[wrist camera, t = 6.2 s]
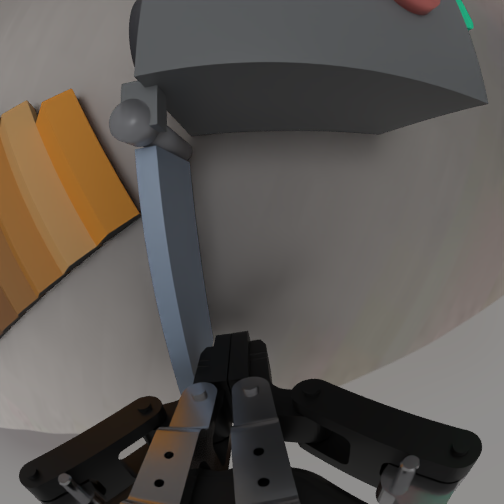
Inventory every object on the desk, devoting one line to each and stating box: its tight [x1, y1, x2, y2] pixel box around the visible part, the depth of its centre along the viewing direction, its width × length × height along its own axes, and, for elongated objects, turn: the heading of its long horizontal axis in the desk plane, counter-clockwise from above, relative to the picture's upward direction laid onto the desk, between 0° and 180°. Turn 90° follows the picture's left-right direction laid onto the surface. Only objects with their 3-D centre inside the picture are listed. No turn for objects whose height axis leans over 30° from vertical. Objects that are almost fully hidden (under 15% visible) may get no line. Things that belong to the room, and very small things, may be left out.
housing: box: [109, 0, 488, 147], centre depth 10 cm, size 13×10×11 cm
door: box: [135, 126, 213, 395], centre depth 13 cm, size 12×2×7 cm, turn 5°
